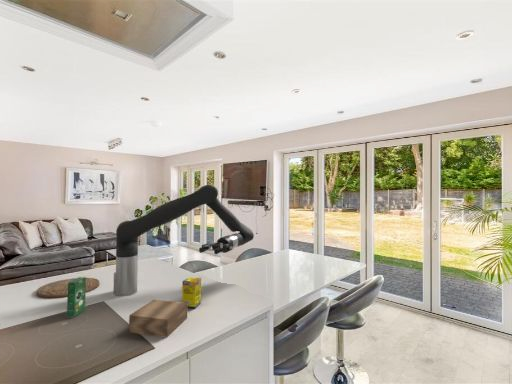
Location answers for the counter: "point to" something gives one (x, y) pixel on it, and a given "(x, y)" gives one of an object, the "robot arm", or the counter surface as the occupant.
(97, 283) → the trivet
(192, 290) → the supplement box
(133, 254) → the robot arm
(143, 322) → the walnut riser block
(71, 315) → the coffee box
